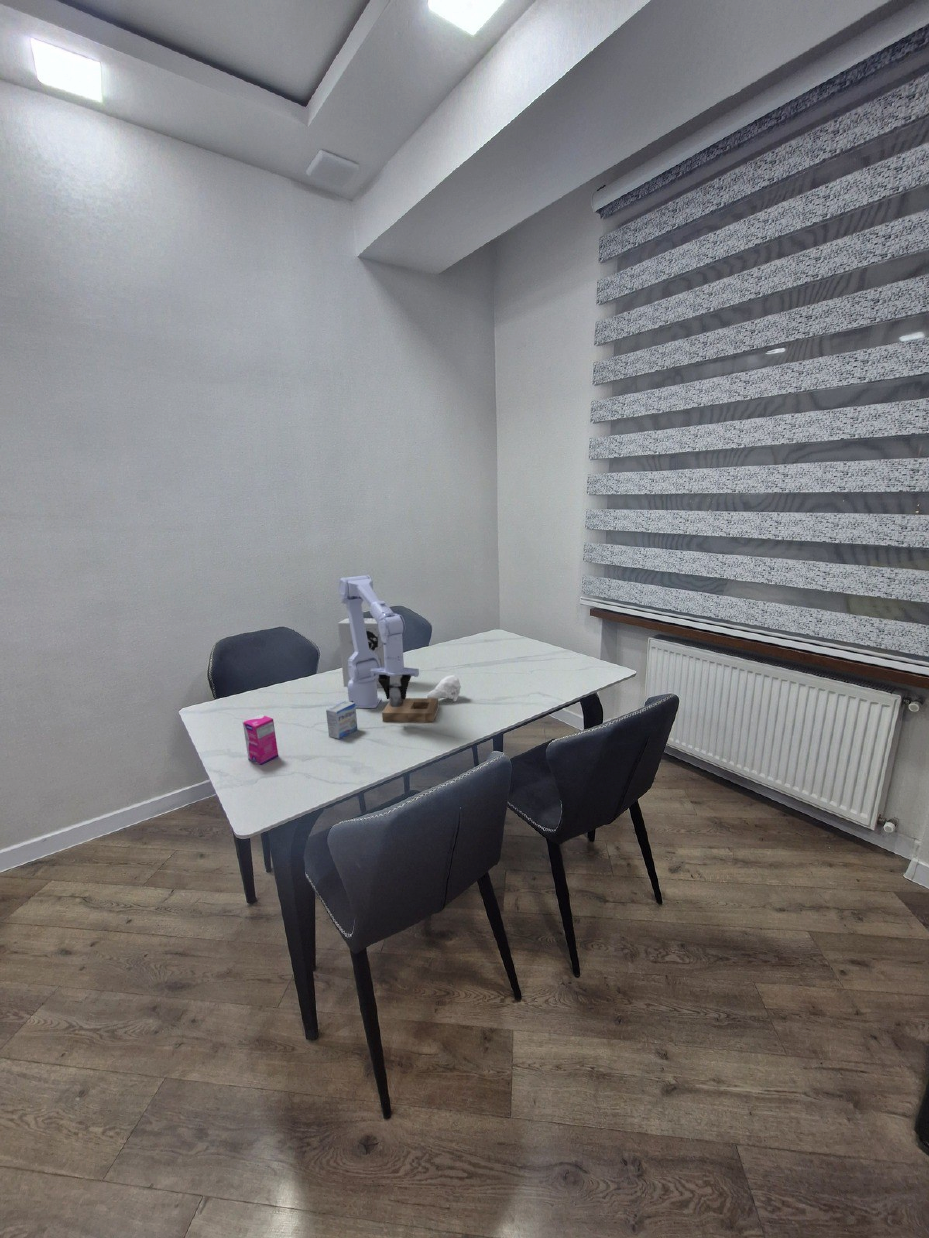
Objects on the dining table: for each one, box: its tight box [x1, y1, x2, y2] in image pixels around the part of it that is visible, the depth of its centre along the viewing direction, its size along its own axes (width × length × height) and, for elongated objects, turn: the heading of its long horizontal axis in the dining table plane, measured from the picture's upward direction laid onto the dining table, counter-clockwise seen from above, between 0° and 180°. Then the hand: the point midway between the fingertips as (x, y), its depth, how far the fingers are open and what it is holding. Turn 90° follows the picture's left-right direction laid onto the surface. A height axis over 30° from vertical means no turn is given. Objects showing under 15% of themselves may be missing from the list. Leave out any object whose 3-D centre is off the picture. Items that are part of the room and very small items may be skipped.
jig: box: [381, 697, 439, 723], centre depth 160 cm, size 16×12×3 cm
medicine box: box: [325, 700, 358, 740], centre depth 147 cm, size 8×4×9 cm, turn 148°
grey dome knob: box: [388, 683, 403, 707], centre depth 150 cm, size 4×4×6 cm
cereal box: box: [337, 617, 402, 689], centre depth 185 cm, size 22×8×25 cm, turn 80°
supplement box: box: [242, 713, 279, 766], centre depth 133 cm, size 6×6×12 cm
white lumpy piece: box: [426, 674, 462, 703], centre depth 169 cm, size 6×8×12 cm
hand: (396, 698), depth 150 cm, fingers closed on grey dome knob, 4 cm apart
